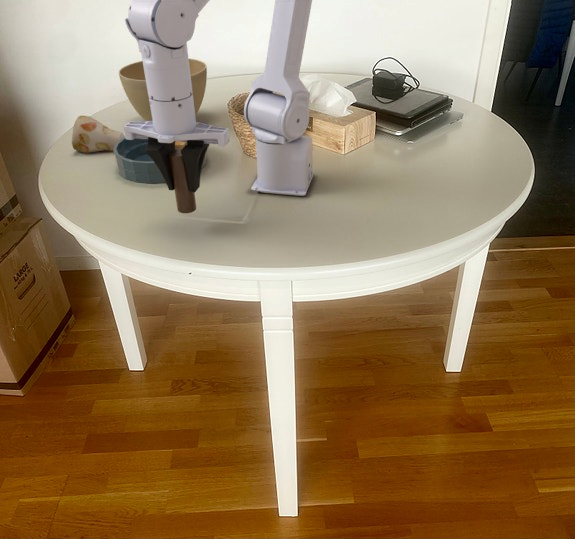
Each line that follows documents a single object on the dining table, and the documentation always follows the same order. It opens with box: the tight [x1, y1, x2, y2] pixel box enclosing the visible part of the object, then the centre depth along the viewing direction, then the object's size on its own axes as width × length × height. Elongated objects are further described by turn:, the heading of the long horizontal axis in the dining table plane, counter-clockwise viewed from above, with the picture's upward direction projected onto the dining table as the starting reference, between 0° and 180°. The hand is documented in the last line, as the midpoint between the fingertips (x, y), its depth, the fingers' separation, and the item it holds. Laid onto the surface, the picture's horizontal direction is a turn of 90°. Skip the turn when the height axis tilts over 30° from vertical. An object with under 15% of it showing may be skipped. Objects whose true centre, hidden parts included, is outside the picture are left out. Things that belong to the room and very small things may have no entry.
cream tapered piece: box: [71, 115, 125, 154], centre depth 104 cm, size 8×10×10 cm
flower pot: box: [118, 57, 208, 121], centre depth 114 cm, size 18×18×12 cm
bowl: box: [112, 137, 207, 184], centre depth 98 cm, size 16×16×4 cm
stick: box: [169, 149, 197, 214], centre depth 76 cm, size 3×3×9 cm
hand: (184, 188), depth 77 cm, fingers closed on stick, 3 cm apart
